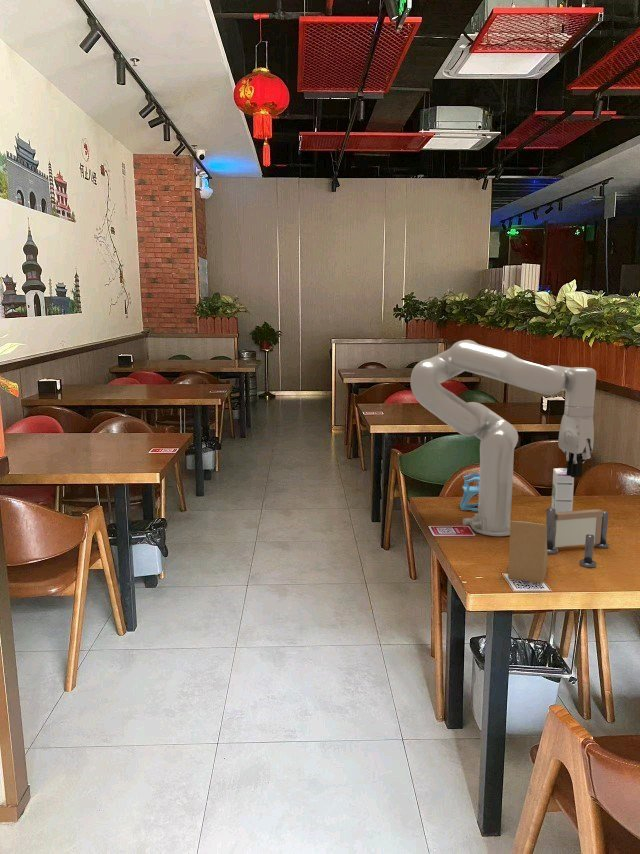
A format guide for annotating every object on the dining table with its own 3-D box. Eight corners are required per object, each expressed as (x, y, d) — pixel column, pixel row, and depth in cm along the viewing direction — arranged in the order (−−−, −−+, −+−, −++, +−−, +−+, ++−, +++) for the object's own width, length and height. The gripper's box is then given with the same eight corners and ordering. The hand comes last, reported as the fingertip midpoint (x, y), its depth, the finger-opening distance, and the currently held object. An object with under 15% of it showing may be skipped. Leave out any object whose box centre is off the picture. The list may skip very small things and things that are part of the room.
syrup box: (572, 516, 210) (575, 472, 207) (553, 515, 210) (556, 471, 208) (568, 511, 215) (571, 468, 213) (550, 510, 216) (553, 467, 213)
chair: (458, 505, 221) (459, 471, 219) (483, 505, 221) (484, 471, 219) (462, 512, 213) (463, 476, 211) (487, 512, 213) (489, 477, 211)
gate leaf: (555, 547, 178) (558, 514, 176) (551, 545, 180) (553, 512, 178) (600, 543, 181) (603, 511, 180) (595, 541, 183) (598, 509, 182)
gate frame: (569, 570, 166) (573, 525, 163) (535, 548, 181) (538, 507, 178) (641, 562, 171) (645, 519, 169) (601, 542, 186) (605, 502, 184)
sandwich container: (549, 562, 171) (553, 507, 169) (543, 584, 157) (547, 525, 155) (515, 557, 175) (518, 503, 172) (507, 578, 161) (510, 520, 158)
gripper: (550, 408, 188) (546, 470, 191) (584, 416, 173) (579, 483, 176) (573, 407, 189) (568, 469, 193) (608, 415, 175) (603, 482, 178)
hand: (573, 475), depth 184 cm, fingers closed
